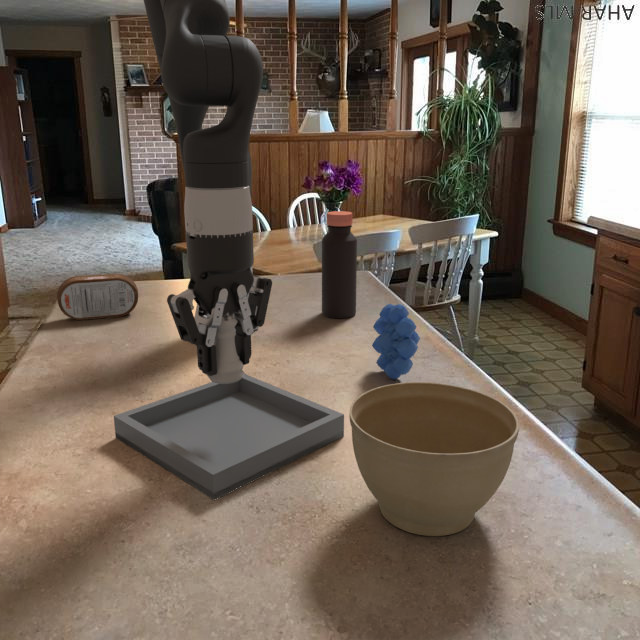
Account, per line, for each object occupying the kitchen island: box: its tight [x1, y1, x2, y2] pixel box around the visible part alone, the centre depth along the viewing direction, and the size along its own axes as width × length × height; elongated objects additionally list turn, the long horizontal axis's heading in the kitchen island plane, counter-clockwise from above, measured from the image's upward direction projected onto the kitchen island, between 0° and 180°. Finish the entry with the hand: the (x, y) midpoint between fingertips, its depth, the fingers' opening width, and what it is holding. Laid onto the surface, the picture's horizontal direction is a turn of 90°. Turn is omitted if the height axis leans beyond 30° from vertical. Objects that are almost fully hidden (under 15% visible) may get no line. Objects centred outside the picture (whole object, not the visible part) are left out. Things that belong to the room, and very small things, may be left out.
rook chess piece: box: [206, 313, 245, 384], centre depth 80 cm, size 4×4×8 cm
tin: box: [56, 273, 139, 321], centre depth 131 cm, size 15×3×8 cm, turn 108°
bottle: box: [321, 210, 358, 319], centre depth 131 cm, size 7×7×20 cm
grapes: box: [371, 303, 421, 380], centre depth 101 cm, size 12×7×12 cm, turn 19°
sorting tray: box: [113, 373, 345, 501], centre depth 84 cm, size 20×20×3 cm
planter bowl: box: [348, 381, 520, 537], centre depth 67 cm, size 16×16×11 cm
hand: (225, 367), depth 81 cm, fingers closed on rook chess piece, 4 cm apart
